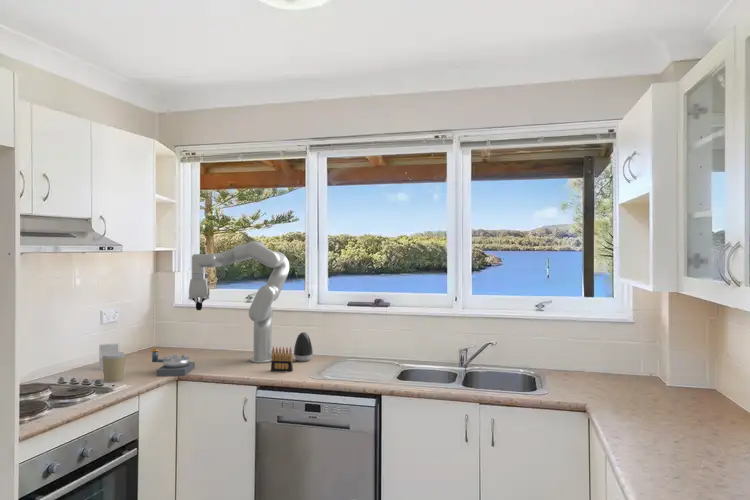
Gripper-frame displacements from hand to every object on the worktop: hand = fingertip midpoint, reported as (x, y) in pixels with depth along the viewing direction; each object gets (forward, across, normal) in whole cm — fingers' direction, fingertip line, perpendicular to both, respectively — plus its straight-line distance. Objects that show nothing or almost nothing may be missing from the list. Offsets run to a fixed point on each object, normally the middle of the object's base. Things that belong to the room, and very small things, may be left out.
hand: (199, 310), depth 268 cm
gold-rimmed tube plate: (+24, +6, +27) cm, 36 cm away
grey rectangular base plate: (+27, +4, +27) cm, 38 cm away
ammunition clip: (+27, -48, +29) cm, 62 cm away
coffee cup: (+27, +27, +41) cm, 56 cm away
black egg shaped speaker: (+27, -57, +6) cm, 63 cm away
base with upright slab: (+27, +40, +16) cm, 51 cm away
